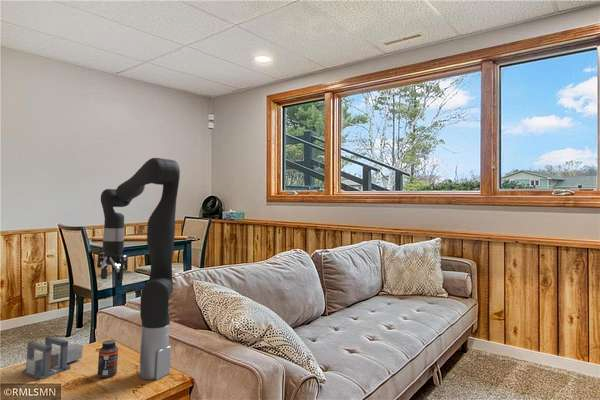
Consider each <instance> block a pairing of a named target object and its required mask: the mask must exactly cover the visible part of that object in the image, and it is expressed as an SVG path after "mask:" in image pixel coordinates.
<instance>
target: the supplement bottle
mask: <svg viewBox="0 0 600 400" xmlns="http://www.w3.org/2000/svg"><path fill="white" fill-rule="evenodd" d="M116 345H117V344H116V340H114V339H107V340H103V342H102V347H101V348H99V351H98V360H97V361H98V363H97V377H99V378H102V379H103V378H104V379H106V378H107V379H108V378H111V377H114V376H115V375H117V372H118V358H119V357H118V356H119V347H117V346H116Z"/></svg>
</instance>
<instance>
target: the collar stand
mask: <svg viewBox="0 0 600 400" xmlns="http://www.w3.org/2000/svg"><path fill="white" fill-rule="evenodd" d="M44 340H45V341H44V343H45V344H43V343H40V342H36V341H28V342H27V343H26V344H27V346H26V360H27V359H29V358H32V357H35V350H36V351H39V352H42V354H43V362H42V372H41V373H38V374H35V375H33V374H30V373H27V362H26V365H25V366H26V367H25V369H23V370H21V372H22V373H21V374H23V375H26V376H29V377H30V378H34V377H35V378H34V379H36V378H37V380H40V381H42V380H44V379H47V378H49V377H52V376H54V375H57V374H60V373H62V371H63V372H64V371H65V372H66V371H67V370H70V369H71V365H69V364H68V363H67V351H68V346H69V341H68V340H65V339H62V338H58V337H54V336H52V335H51V336H50V335H49V336H46V337H45V338H44ZM53 345H57V346H59V347H60V348H61V351H60V366H58V367H55V368H52V369H50V352H51V351H53Z"/></svg>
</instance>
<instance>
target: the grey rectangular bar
mask: <svg viewBox="0 0 600 400" xmlns="http://www.w3.org/2000/svg"><path fill="white" fill-rule="evenodd" d="M83 347H84V346H83V345H81V344H79V343H73V344H68V351H67V364H68V363H71V362H75V361H77V360H79V359H83ZM60 351H61V347H60V348H57V349H54V350H52V351H51V352H50V369H52V368H55V367H58V366H60ZM42 362H43V353H41V354H38V355H36V356H35V355H34V357H32V358H29V359H27V358H26V363H27V373H30V374H33V375H35V374H38V373H41V372H42Z"/></svg>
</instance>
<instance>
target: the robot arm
mask: <svg viewBox="0 0 600 400" xmlns="http://www.w3.org/2000/svg"><path fill="white" fill-rule="evenodd" d="M180 174H181V171H180V165H179V163H178V162H177V161H176V160H174V159H167V158H162V157H161V158H160V157H151V158H150V159H147V161H145V163H143V165H141V166H140V168H139V169H138V170H136V172H135V173H134V174H133V175H132V176H130V178H128V179H127V180H126V181H123V182H122V183H120V184H119V185H118V186H117V187H116V189H114V188H105V189H104V190H103V191H102V192H101V194H100V204H101V207H102V211H103V216H104V217H103V218H104V224H103V225H104V227H103V234H102V252H98V253H97V264H96V267H97V268H99V270H100V279H101V280H107V279H108V268H109V267H110V266H113V268H115V270H116V276H115V278H116V279H115V281H116V283H120V282H123V278H124V272H126V271H128V267H129V266H128V264H129V263H128V261H129V260H128V259H129V257H128V255H127V254H125V255H122V252H123V251H124V245H125V244H124V243H125V242H124V240H125V229H124V228H125V215H124V214H122V213H119V212H116V211H115V209H114V208H124V207H127V206H129V205H130V204H131V202H132V201H133V199H136V198H137V197H139V196H140V195H142V193H143V192H144V191H145V188H146V187H145V186H146V185H149V184H154V185H159V186H160V185H162V191H161V192H162V194H161V198H160V200H159V202H158V204H157V206H156V207H155V208H154V209H153V212H152V213H151V215H150V216H149V218H148V220H147V227H146V228H147V229H146V243H147V244H146V245H147V249H148V253H149V259H150V271H149V272H150V273H149V279H148V281H147V282H146V283H145V284H144V285H143V287H142V288H141V291H140V293H141V294H140V305H139V306H140V320H141V327H140V328H141V330H140V331H141V332H140V349H139V351H140V352H139V370H138V371H139V373H138V375H139V377H140V378H141V379H142V380H156V381H158V380H159V379H161V378H164V377H165V376H167V375H169V374H170V373H171V356H172V355H171V352H172V345H170V329H171V328H170V324H171V323H170V322H171V316H170V314H169V304H170V303H169V301H170V300H169V299H170V298H171V296H172V295H173V292H174V280H173V256H174V250H175V249H174V246H175V245H174V244H175V235H176V234H175V233H176V231H175V230H176V212H177V211H176V210H177V209H176V208H177V199H178V191H179V186H180V185H179V184H180V176H181V175H180Z"/></svg>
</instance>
